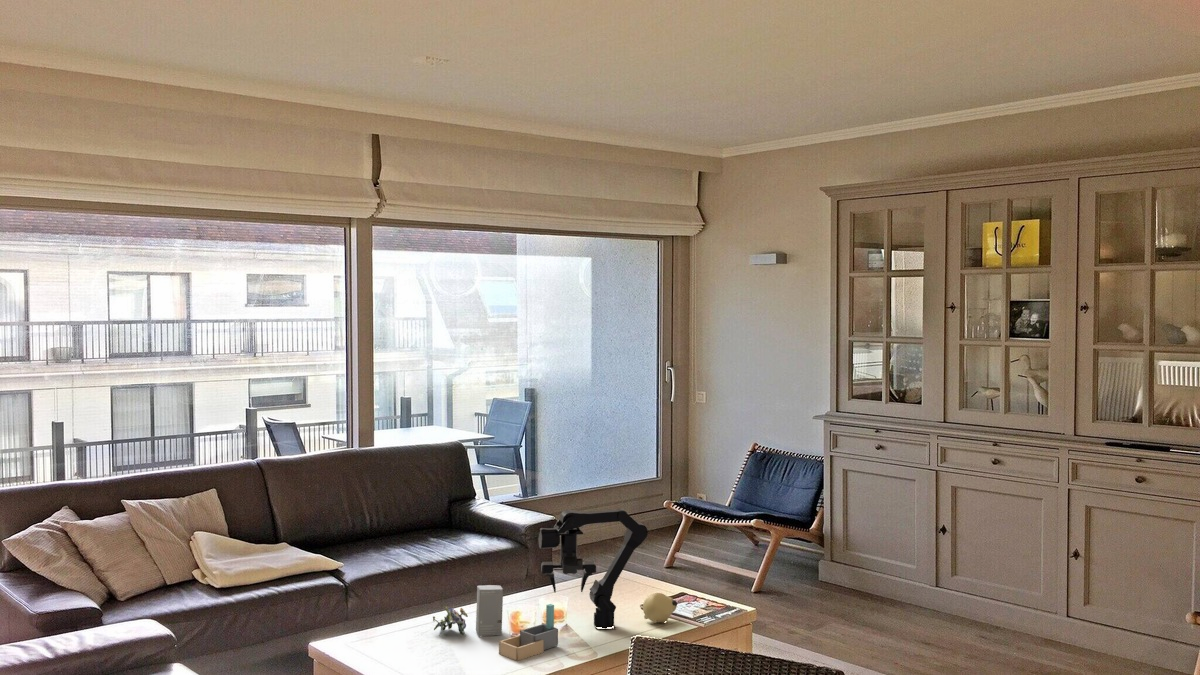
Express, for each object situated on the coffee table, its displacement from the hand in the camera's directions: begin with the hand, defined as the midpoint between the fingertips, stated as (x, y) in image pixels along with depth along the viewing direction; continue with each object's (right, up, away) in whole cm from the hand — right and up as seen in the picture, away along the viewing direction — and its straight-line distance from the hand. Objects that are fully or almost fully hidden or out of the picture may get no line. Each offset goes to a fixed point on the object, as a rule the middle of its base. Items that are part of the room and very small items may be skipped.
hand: (568, 592), depth 335 cm
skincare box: (-27, -13, -4) cm, 30 cm away
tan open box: (-14, -13, -24) cm, 31 cm away
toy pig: (+32, -14, +9) cm, 36 cm away
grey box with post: (-9, -13, -19) cm, 25 cm away
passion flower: (-40, -13, -7) cm, 42 cm away
